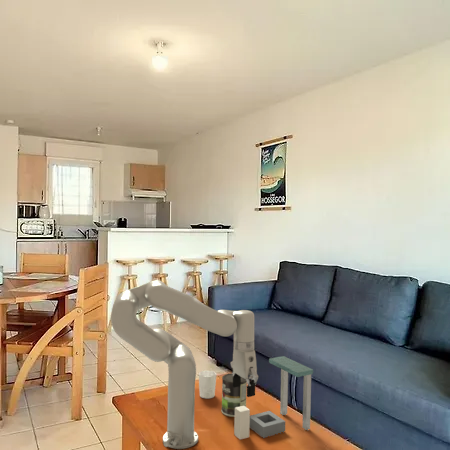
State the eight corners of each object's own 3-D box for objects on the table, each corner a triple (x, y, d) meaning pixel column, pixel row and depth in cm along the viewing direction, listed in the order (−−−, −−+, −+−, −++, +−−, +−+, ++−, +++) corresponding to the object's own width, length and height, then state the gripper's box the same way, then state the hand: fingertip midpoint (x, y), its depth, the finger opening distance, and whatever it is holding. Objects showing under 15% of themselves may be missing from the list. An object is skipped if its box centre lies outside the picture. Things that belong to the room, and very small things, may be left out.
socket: (263, 438, 156) (263, 427, 156) (248, 426, 165) (248, 415, 165) (285, 431, 161) (285, 421, 161) (269, 420, 170) (269, 410, 170)
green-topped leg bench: (296, 435, 159) (297, 372, 158) (267, 415, 174) (269, 358, 174) (311, 430, 162) (313, 369, 162) (282, 411, 178) (283, 356, 178)
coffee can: (228, 419, 171) (229, 383, 170) (217, 408, 180) (217, 375, 180) (251, 414, 175) (251, 379, 175) (238, 404, 184) (239, 371, 184)
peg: (239, 439, 155) (240, 411, 155) (234, 434, 158) (234, 407, 158) (249, 437, 157) (249, 409, 157) (243, 432, 160) (244, 405, 160)
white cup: (195, 393, 195) (196, 371, 195) (211, 391, 198) (212, 369, 198) (202, 400, 188) (202, 377, 188) (218, 397, 191) (219, 375, 191)
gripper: (266, 349, 152) (265, 397, 152) (240, 337, 167) (240, 381, 167) (248, 352, 148) (247, 402, 148) (223, 340, 163) (223, 385, 163)
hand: (243, 391), depth 157 cm, fingers open, 9 cm apart
